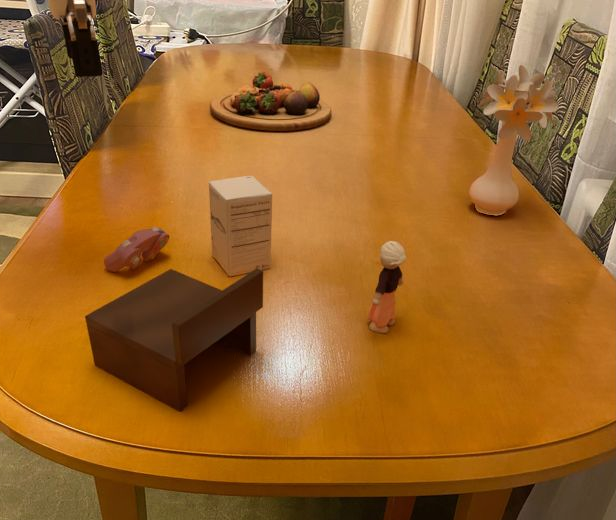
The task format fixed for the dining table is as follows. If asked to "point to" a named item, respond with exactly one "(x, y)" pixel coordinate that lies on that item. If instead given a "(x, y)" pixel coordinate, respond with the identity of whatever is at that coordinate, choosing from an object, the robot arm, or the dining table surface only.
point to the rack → (172, 329)
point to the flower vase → (511, 134)
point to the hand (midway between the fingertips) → (84, 66)
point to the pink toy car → (137, 249)
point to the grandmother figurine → (387, 287)
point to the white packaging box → (240, 224)
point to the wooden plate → (271, 106)
